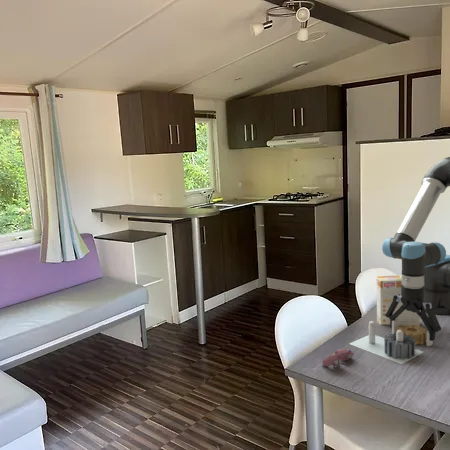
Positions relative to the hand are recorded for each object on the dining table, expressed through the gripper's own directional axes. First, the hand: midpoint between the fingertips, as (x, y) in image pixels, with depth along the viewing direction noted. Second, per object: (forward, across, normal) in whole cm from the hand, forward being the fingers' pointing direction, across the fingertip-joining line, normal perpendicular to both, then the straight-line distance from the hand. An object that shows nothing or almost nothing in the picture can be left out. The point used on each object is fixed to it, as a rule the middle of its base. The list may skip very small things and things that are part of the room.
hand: (411, 342), depth 165 cm
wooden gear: (0, 0, 0) cm, 0 cm away
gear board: (0, -2, -13) cm, 13 cm away
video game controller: (+1, -7, -32) cm, 33 cm away
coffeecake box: (0, -13, +11) cm, 17 cm away
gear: (-1, +4, -13) cm, 13 cm away
